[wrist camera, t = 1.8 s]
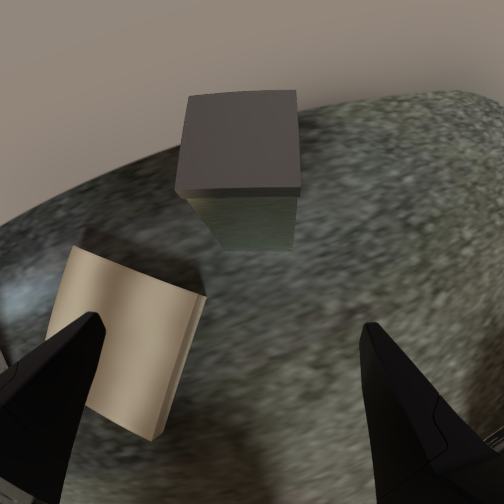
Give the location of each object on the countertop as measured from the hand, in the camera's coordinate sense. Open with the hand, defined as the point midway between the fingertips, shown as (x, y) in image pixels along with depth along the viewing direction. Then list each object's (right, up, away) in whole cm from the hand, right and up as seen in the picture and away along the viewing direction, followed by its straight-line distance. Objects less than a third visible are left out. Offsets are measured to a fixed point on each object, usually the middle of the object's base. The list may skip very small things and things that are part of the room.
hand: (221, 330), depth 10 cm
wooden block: (-10, -5, +15) cm, 18 cm away
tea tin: (+2, +5, +15) cm, 16 cm away
